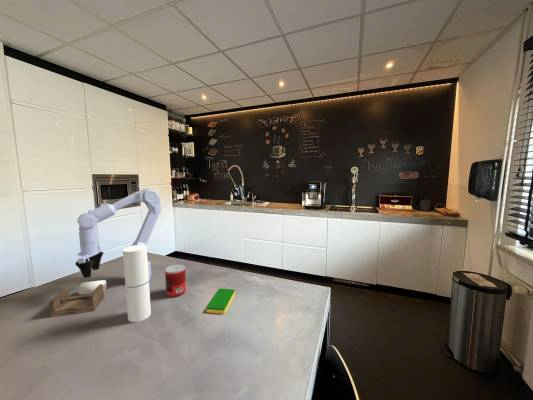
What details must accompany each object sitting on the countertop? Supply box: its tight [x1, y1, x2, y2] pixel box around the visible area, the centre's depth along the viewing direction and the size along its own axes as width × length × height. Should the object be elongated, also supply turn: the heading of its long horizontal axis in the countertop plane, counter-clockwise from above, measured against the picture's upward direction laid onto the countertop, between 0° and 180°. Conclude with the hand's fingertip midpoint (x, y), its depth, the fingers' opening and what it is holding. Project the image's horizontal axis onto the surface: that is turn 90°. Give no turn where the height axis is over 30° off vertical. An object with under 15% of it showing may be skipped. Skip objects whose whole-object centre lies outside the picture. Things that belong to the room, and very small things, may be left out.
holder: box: [48, 284, 105, 318], centre depth 84 cm, size 13×9×6 cm
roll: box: [78, 279, 107, 296], centre depth 94 cm, size 8×5×5 cm, turn 107°
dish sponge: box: [205, 288, 236, 315], centre depth 87 cm, size 7×14×2 cm, turn 172°
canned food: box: [164, 264, 187, 298], centre depth 94 cm, size 8×8×11 cm
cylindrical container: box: [122, 245, 152, 323], centre depth 78 cm, size 7×7×25 cm
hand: (91, 273), depth 94 cm, fingers open, 7 cm apart
